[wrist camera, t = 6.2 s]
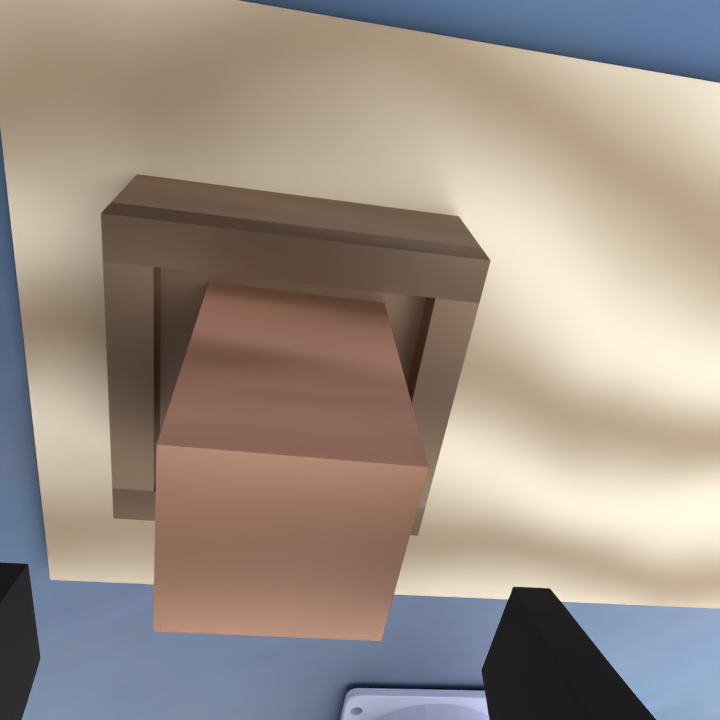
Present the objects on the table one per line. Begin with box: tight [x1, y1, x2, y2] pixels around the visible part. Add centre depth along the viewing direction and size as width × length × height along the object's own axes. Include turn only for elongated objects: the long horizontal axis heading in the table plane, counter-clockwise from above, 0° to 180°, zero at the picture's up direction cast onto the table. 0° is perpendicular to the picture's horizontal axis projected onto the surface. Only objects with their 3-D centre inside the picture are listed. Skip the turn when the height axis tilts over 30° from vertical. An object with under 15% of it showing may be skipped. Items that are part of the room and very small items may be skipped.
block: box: [153, 282, 429, 641], centre depth 13 cm, size 4×4×6 cm
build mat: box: [0, 0, 720, 608], centre depth 18 cm, size 18×25×4 cm
